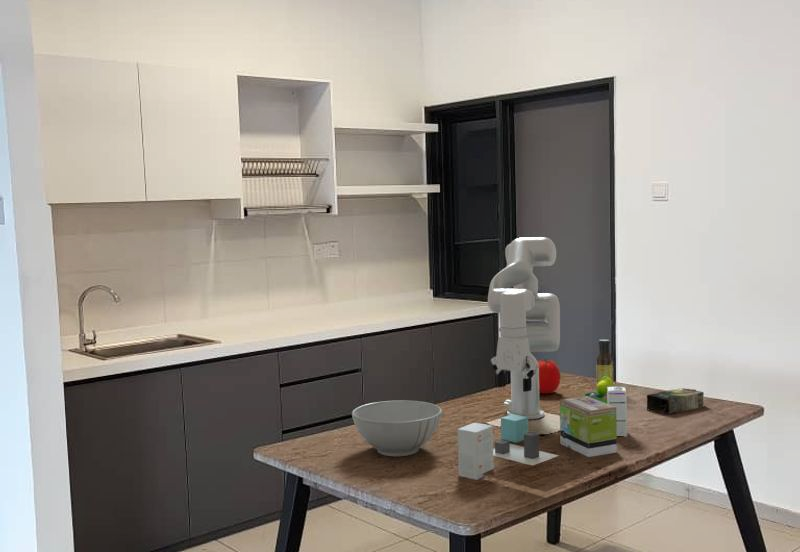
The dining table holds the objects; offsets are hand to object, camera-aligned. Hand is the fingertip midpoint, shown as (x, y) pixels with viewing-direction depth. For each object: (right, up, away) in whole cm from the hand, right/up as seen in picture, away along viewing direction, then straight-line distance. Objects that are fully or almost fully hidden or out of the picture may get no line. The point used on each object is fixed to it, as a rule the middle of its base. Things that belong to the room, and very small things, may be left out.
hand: (514, 388), depth 254 cm
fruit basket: (+36, -13, +39) cm, 55 cm away
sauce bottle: (+43, -10, +65) cm, 79 cm away
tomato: (+21, -11, +66) cm, 70 cm away
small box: (-14, -20, -27) cm, 36 cm away
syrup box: (+33, -15, +7) cm, 37 cm away
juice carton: (+61, -12, +38) cm, 73 cm away
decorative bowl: (-35, -18, -3) cm, 40 cm away
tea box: (+20, -17, -10) cm, 28 cm away
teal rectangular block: (0, -17, +1) cm, 17 cm away
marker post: (+3, -17, -17) cm, 24 cm away
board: (0, -18, -14) cm, 23 cm away
